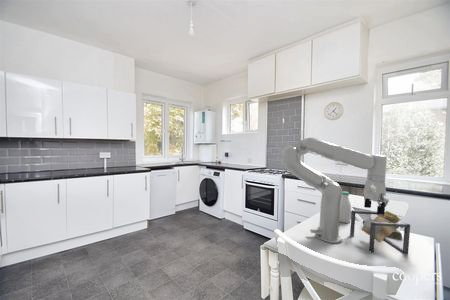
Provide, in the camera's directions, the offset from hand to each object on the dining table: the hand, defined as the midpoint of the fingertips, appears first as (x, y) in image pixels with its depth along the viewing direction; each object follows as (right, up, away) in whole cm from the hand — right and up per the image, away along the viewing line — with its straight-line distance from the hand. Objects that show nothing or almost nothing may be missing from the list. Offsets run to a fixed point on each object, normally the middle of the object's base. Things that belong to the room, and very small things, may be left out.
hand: (373, 210), depth 103 cm
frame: (+2, -18, +1) cm, 18 cm away
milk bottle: (+2, -17, +31) cm, 35 cm away
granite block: (+1, -10, 0) cm, 10 cm away
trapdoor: (+5, -9, 0) cm, 10 cm away
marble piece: (+16, -18, +16) cm, 29 cm away
